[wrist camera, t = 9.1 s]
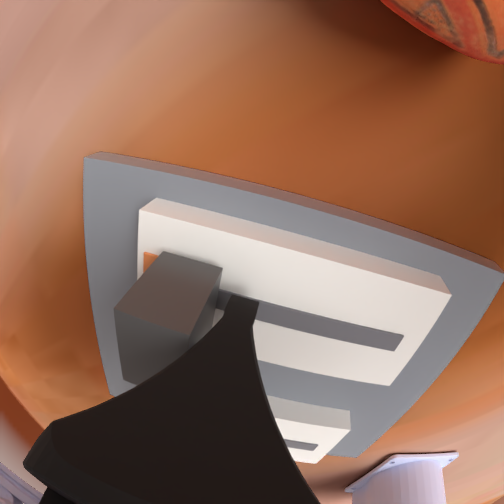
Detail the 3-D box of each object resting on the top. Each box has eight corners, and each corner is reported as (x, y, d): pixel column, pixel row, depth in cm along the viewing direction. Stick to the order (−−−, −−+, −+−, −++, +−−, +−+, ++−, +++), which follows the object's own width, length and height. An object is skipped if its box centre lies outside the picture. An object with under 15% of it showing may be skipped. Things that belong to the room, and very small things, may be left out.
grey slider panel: (356, 444, 18) (355, 514, 13) (117, 382, 19) (80, 445, 14) (494, 261, 10) (562, 349, 5) (100, 151, 11) (-10, 196, 6)
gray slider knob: (210, 335, 11) (183, 402, 8) (159, 319, 11) (123, 379, 8) (222, 267, 9) (189, 335, 7) (163, 250, 9) (113, 308, 7)
